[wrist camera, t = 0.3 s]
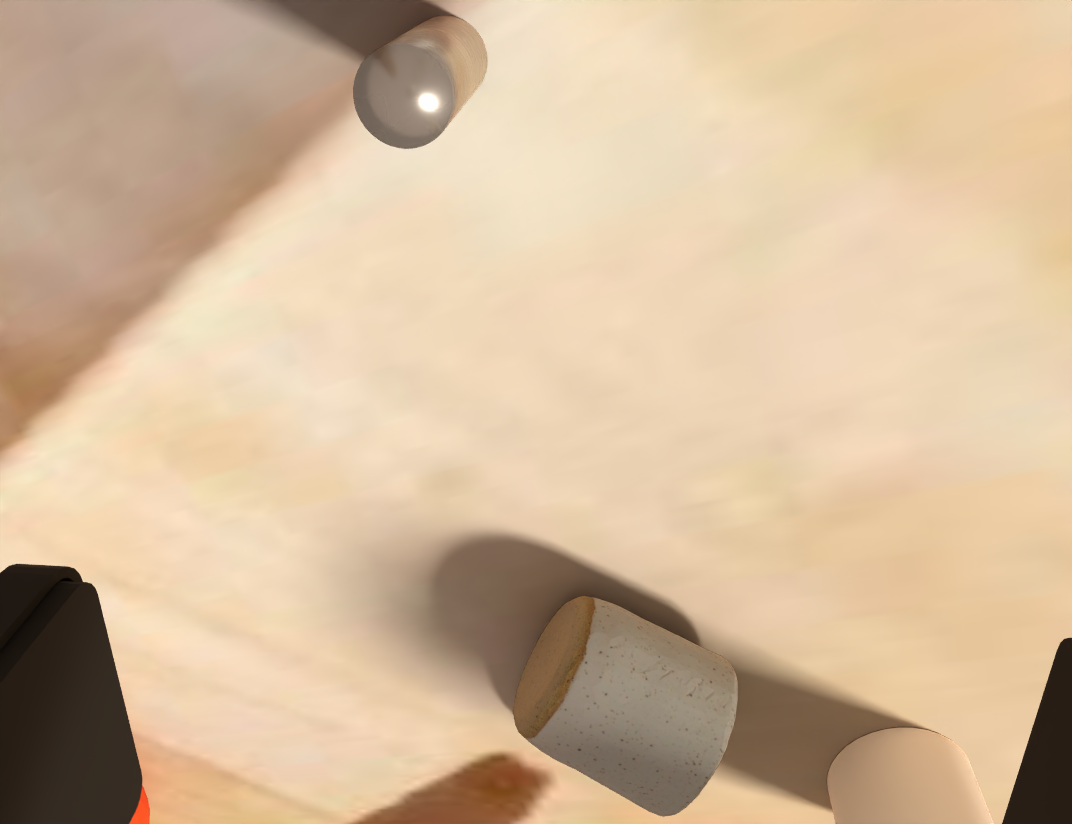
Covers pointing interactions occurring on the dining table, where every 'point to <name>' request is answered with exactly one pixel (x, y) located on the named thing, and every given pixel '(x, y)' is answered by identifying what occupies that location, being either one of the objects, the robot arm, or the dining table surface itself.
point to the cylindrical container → (905, 781)
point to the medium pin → (419, 81)
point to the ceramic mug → (627, 704)
